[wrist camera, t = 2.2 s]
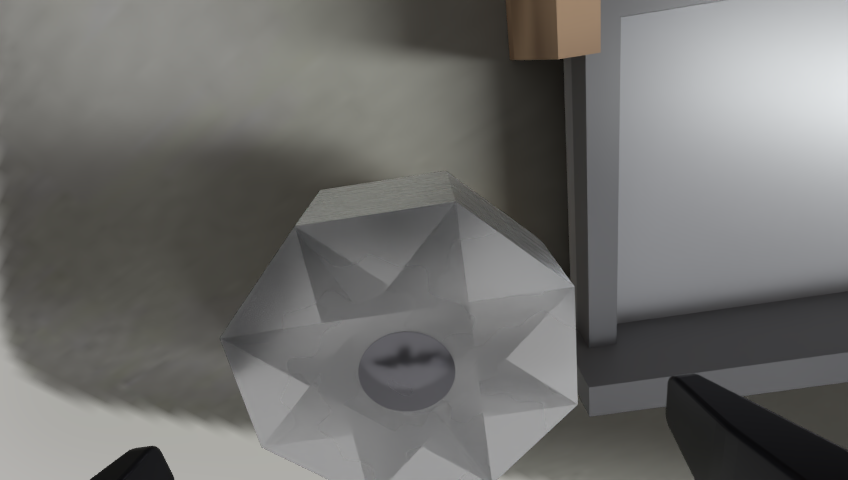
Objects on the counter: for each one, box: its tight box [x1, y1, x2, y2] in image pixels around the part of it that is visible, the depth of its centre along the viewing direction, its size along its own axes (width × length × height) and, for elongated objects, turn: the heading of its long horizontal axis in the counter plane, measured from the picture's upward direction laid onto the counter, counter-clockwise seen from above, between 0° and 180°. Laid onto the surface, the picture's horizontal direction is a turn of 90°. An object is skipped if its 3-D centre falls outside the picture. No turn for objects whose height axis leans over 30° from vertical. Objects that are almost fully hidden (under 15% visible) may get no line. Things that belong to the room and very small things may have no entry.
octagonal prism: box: [220, 171, 578, 480], centre depth 10 cm, size 7×7×2 cm
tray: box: [564, 0, 848, 417], centre depth 12 cm, size 11×13×4 cm
